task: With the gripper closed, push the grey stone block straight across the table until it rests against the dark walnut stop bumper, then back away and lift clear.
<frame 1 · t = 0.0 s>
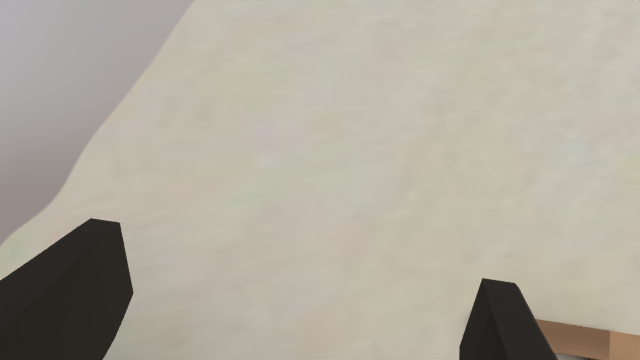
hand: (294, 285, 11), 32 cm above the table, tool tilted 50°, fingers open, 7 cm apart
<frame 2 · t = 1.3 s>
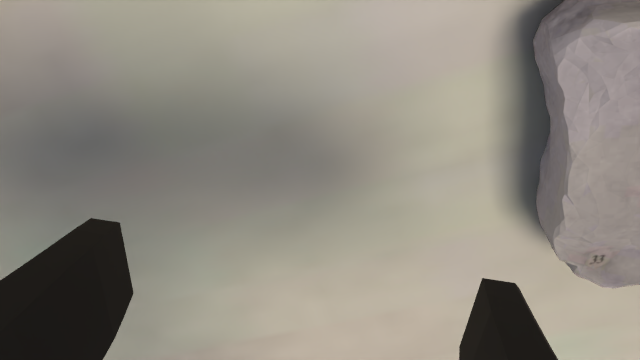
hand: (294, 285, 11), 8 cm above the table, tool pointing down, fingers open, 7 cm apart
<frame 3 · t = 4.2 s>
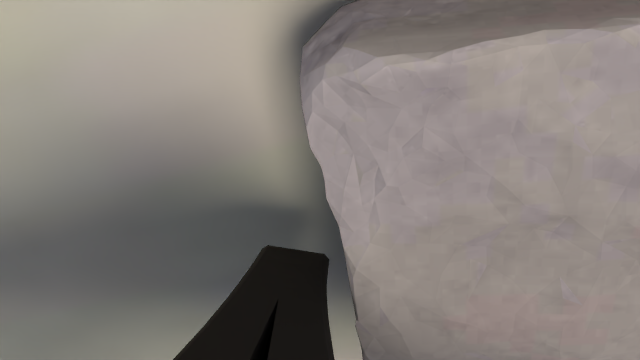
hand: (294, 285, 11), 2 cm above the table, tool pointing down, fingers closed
stone block: (634, 189, 11), on the table, touching gripper
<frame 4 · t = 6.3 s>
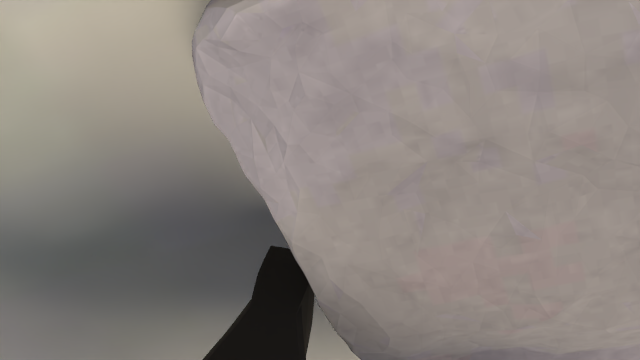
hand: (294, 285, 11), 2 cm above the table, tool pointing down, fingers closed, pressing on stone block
stone block: (618, 109, 10), on the table, touching gripper, stop bumper
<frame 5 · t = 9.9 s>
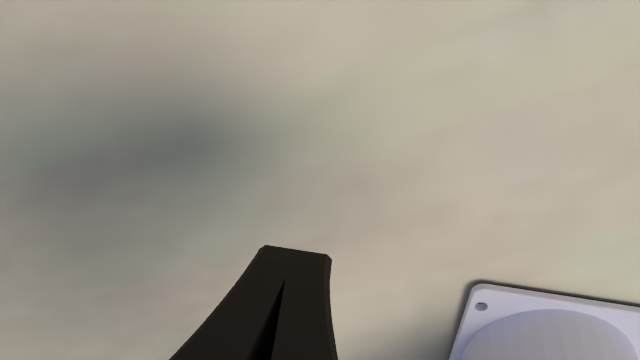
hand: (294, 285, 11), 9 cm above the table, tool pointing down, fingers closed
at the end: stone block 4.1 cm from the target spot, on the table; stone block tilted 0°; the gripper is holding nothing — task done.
